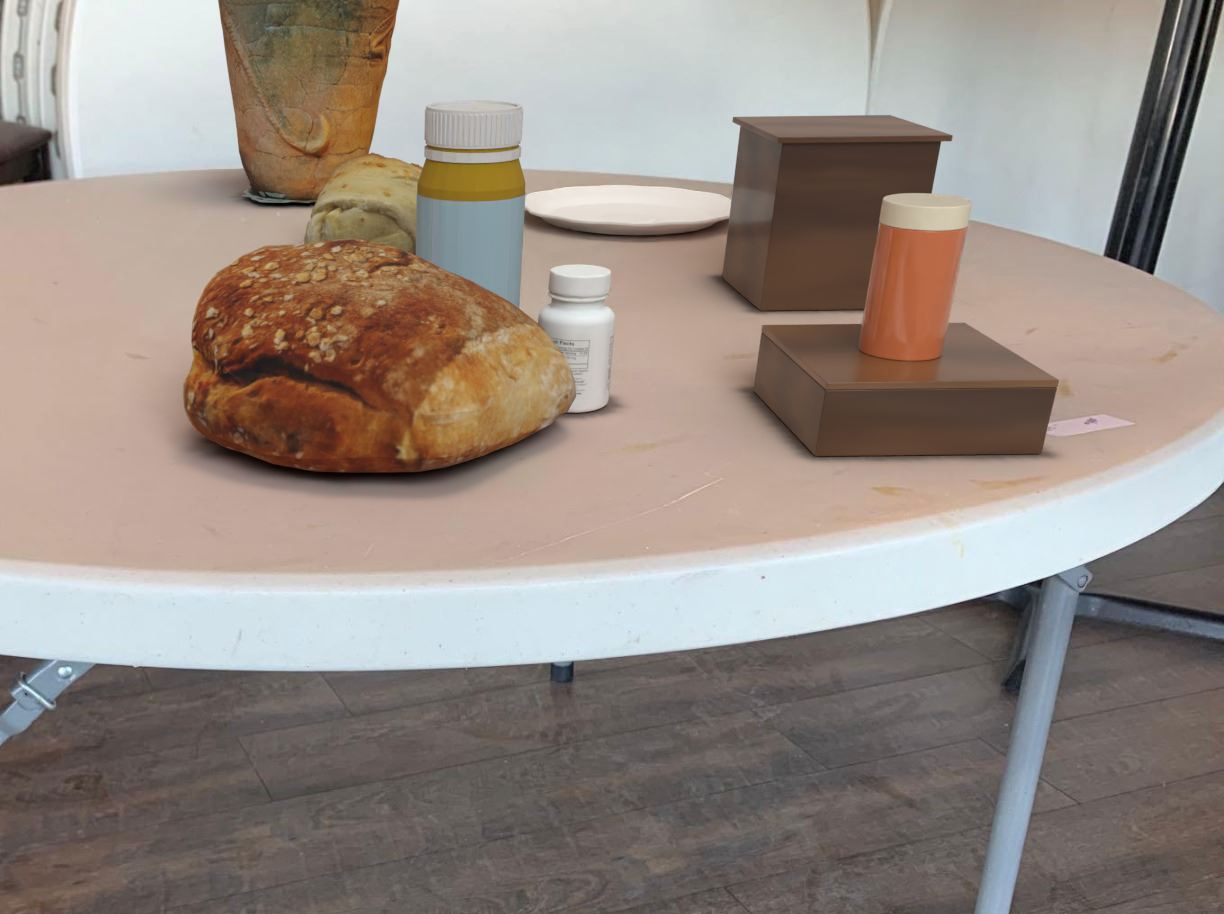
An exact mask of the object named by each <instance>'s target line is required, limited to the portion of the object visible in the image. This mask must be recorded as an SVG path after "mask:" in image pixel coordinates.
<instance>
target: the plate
mask: <svg viewBox="0 0 1224 914" xmlns="http://www.w3.org/2000/svg"><path fill="white" fill-rule="evenodd" d="M731 200H732V198H729V197H727V196H725V195H723V194H719V193H715V192H709V191H700V190H692V189H688V188H687V189H686V188H681V187H672V186H671V187H670V186H650V185H649V186H648V185H647V186H646V185H645V186H644V185H633V184H632V185H630V184H604V185H586V186H585V185H582V186H581V185H580V186H577V185H576V186H575V185H574V186H565V187H558V188H553V189H548V190H540V191H533V192H531V193H527V194H525V211H527V212H528V213H529V214H530V215H532V216H536V217H538V218H541V219H542V220H543V221H545V222H546V223H548V224H550V225H552V226H555V227H558V228H561V229H562V228H563V229H567V230H571V231H576V232H584V233H591V234H600V235H614V236H616V235H617V236H662V235H674V234H684V233H691V232H697V231H701V230H703V229H707V228H709V227H712V226H713V225H714V224H715V223H717V222H721V221H724V220H729V216H730V208H731Z"/></svg>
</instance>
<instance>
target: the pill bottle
mask: <svg viewBox="0 0 1224 914" xmlns="http://www.w3.org/2000/svg"><path fill="white" fill-rule="evenodd" d="M611 281H612V271H611V269H609V268H607V267H604V266H601V265H595V264H584V263H583V264H580V263H579V264H577V263H575V264H563V265H557V266H554V267H551V268H550V270H549V279H548V292H547V296H548V297H549V298H551V302H550V303H548V304H546V305H545V306H544V307H542V309H540V311H539V313H538V317H537V323H538V324H540V326H541V327H542V328H543V329H544V330H545V331H546V332H547V333H548V334H549V335H550V337H551V339H552V340H553V342H554V343H555V345H556V346H557V348H558V349H559V350H560V351H561V353H562V354H563V355H564V356H565V358H566V360H567V361H568V363H569V366H570V368H571V371H572V374H573V377H574V379H575V389H576V398H575V399H574V401H573V403H572V405H571V406H570V408H569V410H568V412H567V413H572V414H573V413H574V414H578V413H587V412H588V413H589V412H592V411H597V410H600V409H602V408H603V407H605V406H606V405H607V404H608V403H609V399H610V389H611V376H612V365H613V353H614V342H615V341H614V339H615V329H616V314H615V313H614V311H613V310H612V309H611V308H610V307H609V306H607V305H605V300H606V299H608V298H609V297H610V294H609V293H610V292H611Z"/></svg>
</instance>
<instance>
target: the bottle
mask: <svg viewBox="0 0 1224 914" xmlns="http://www.w3.org/2000/svg"><path fill="white" fill-rule="evenodd" d="M523 122H524V108H523V105H522V104H521V103H517V102H511V101H500V100H499V101H497V100H451V101H438V102H433V103H428V104H426V105H425V109H424V134H423V135H424V136H423V137H424V138H423V139H424V142H425V144H426V145H424V150H423V151H424V154H423V156H424V158H425V160H424V163H423V166H422V168H423V169H422V172H421V174H420V177H419V180H418V183H417V207H416V256H418V257H420V258H422V259H424V260H426V261H428V262H430V263H432V264H434V265H436V266H438V267H440V268H443V269H445V270H447V271H449V272H452V273H454V274H456V275H459V276H461V277H463V278H466V279H468V280H470V281H472V282H474V283H476V284H478V285H480V286H481V287H483V288H485V289H487V290H489V291H491V292H493V293H495V294H497V295H499V296H500V297H502V298H504V299H506V300H507V301H509V302H511V303H512V304H514V305H515V306H517V307H518V308H519V309H520V305H521V304H520V302H521V286H522V284H521V283H522V267H523V265H522V264H523V249H524V248H523V247H524V228H525V211H526V210H525V196H526V179H525V176H524V173H523V169H522V164H521V162H520V158H521V157H522V146H521V145H520V144H521V141H523V125H524V124H523Z"/></svg>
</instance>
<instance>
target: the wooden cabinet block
mask: <svg viewBox="0 0 1224 914" xmlns="http://www.w3.org/2000/svg"><path fill="white" fill-rule="evenodd" d="M732 123H734V124H736V125H737V126H739V135H738V143H737V151H736V158H735V159H736V160H735V168H734V174H733V175H734V176H733V184H732V193H731V199H732V200H731V208H730V216H729V219H728V225H727V232H726V242H725V249H724V251H725V252H724V258H723V267H722V268H723V269H722V273H721V274H722V275H721V279H723V280H724V281H725V282H727V284H729V285H730V286H731V287H732V288H733V289H735V290H736V292H738V294H740V295H741V296H742V297H744V298H745V299H746V300H747V301H748V302H750V303H751V305H753V306H754V307H756V309H757V310H759V311H760V312H761V311H762V312H766V311H769V312H770V311H771V312H773V311H846V310H848V311H854V310H855V311H857V310H859V311H860V310H861V311H862V310H863V311H864V307H865V301H866V295H867V289H868V284H869V278H870V272H871V266H872V260H873V254H874V248H875V242H876V236H877V230H878V224H879V219H880V213H881V207H882V201H883V198H884V197H885V196H888V195H893V194H903V193H928V194H933V188H934V183H935V177H936V171H937V167H938V161H939V157H940V156H939V155H940V151H941V145H942V142H952V141H953V136H954V135H953V134H951V133H947V132H944V131H941V130H938V129H935V128H932V127H930V126H929V127H928V126H925V125H923V124H920V123H916V122H913V121H910V120H907V119H903V118H901V117H898V116H894V115H891V114H874V115H873V114H863V115H862V114H860V115H859V114H858V115H856V114H855V115H854V114H853V115H852V114H851V115H790V116H789V115H778V116H775V115H774V116H772V115H771V116H767V115H766V116H764V115H763V116H733V117H732Z"/></svg>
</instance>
